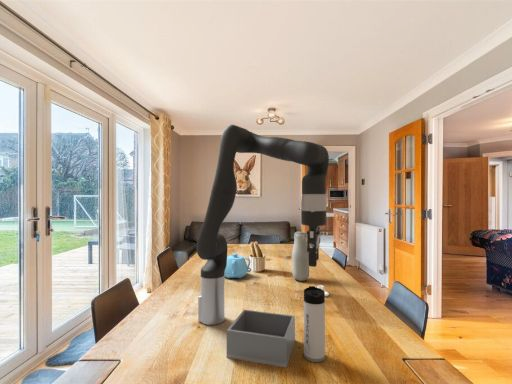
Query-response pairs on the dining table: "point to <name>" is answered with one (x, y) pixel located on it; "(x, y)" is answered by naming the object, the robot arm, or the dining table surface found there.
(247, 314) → the crate
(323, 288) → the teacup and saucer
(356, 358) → the dining table surface
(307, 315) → the travel mug
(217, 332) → the dining table surface
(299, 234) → the grey bottle
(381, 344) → the dining table surface
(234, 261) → the decorative pot
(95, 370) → the dining table surface
